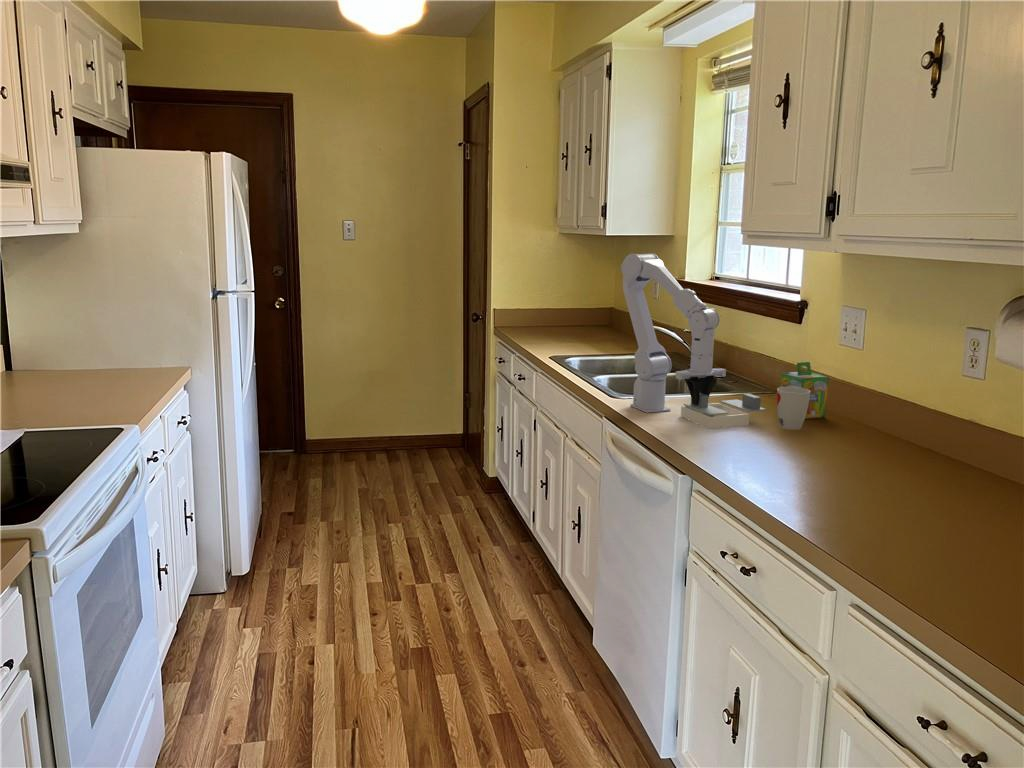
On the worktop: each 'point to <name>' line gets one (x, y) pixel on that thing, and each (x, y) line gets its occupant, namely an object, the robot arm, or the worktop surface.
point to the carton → (717, 417)
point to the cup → (792, 406)
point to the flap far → (746, 403)
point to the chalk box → (809, 388)
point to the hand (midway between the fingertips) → (699, 404)
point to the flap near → (705, 406)
